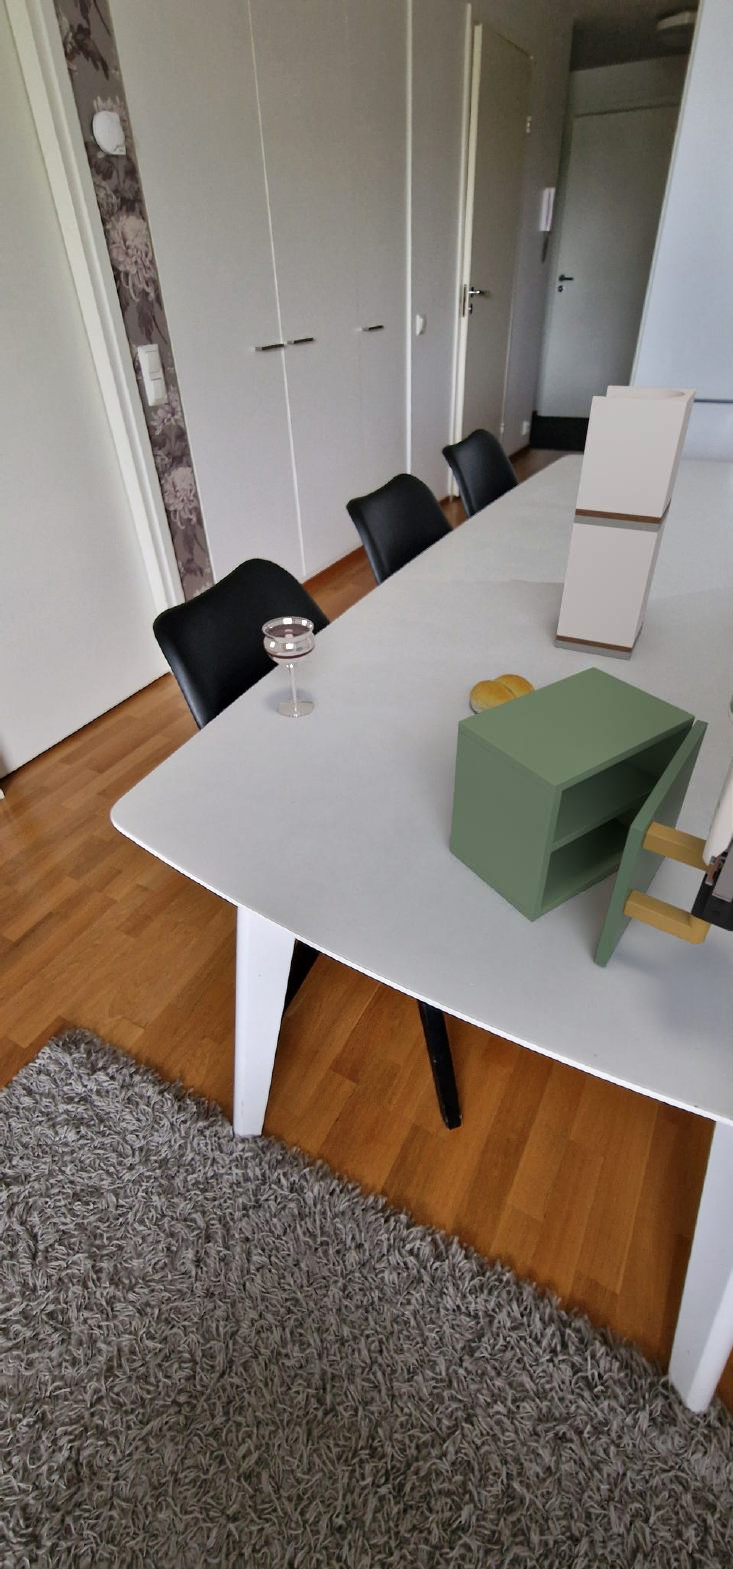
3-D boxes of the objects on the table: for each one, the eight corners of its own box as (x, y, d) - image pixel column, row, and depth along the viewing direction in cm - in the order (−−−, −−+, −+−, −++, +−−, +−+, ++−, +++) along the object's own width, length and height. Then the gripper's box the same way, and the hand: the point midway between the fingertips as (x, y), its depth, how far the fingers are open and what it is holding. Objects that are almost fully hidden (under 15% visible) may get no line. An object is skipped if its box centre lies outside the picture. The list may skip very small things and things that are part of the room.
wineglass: (323, 696, 100) (318, 617, 93) (315, 721, 95) (309, 639, 88) (277, 694, 101) (268, 615, 94) (266, 719, 96) (256, 637, 88)
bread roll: (458, 700, 98) (460, 675, 96) (512, 686, 101) (515, 661, 99) (490, 729, 92) (493, 702, 90) (547, 713, 95) (551, 687, 93)
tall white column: (640, 632, 115) (696, 389, 94) (629, 660, 107) (687, 401, 86) (570, 621, 119) (609, 385, 98) (554, 646, 111) (592, 397, 90)
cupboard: (656, 846, 73) (696, 715, 64) (531, 921, 66) (555, 785, 56) (569, 790, 81) (593, 666, 72) (449, 851, 74) (458, 721, 64)
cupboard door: (732, 875, 70) (785, 743, 60) (679, 1002, 58) (734, 863, 49) (657, 847, 73) (697, 719, 64) (593, 962, 62) (630, 825, 52)
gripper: (854, 789, 36) (745, 1007, 47) (886, 668, 46) (790, 871, 57) (701, 744, 39) (633, 957, 51) (762, 641, 50) (694, 837, 61)
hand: (717, 910), depth 54 cm, fingers closed on cupboard door
